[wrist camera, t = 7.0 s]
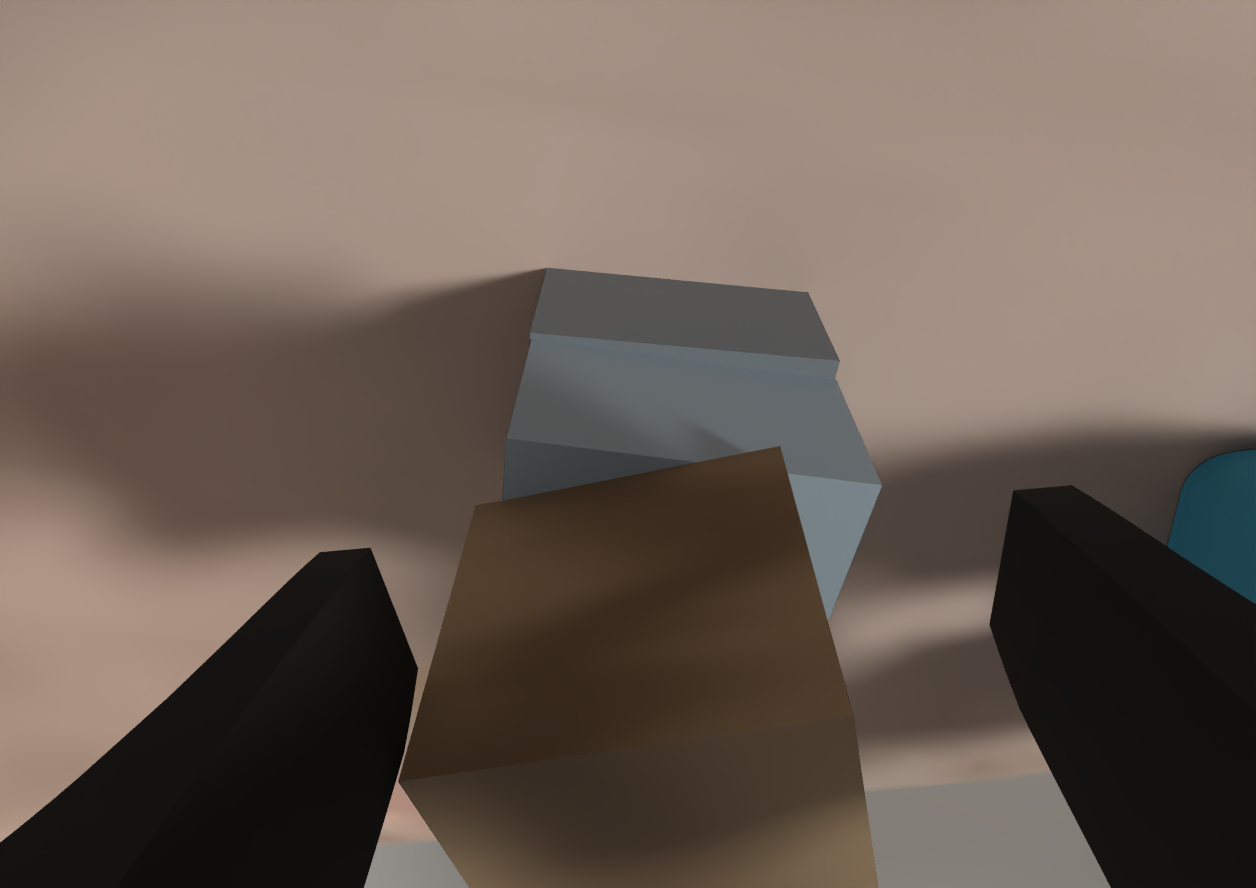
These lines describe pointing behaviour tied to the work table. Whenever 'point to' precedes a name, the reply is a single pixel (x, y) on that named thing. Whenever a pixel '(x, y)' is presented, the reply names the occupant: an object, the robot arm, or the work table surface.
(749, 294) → the tower base
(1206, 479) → the block
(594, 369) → the tower middle
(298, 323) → the work table surface
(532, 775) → the walnut cube
